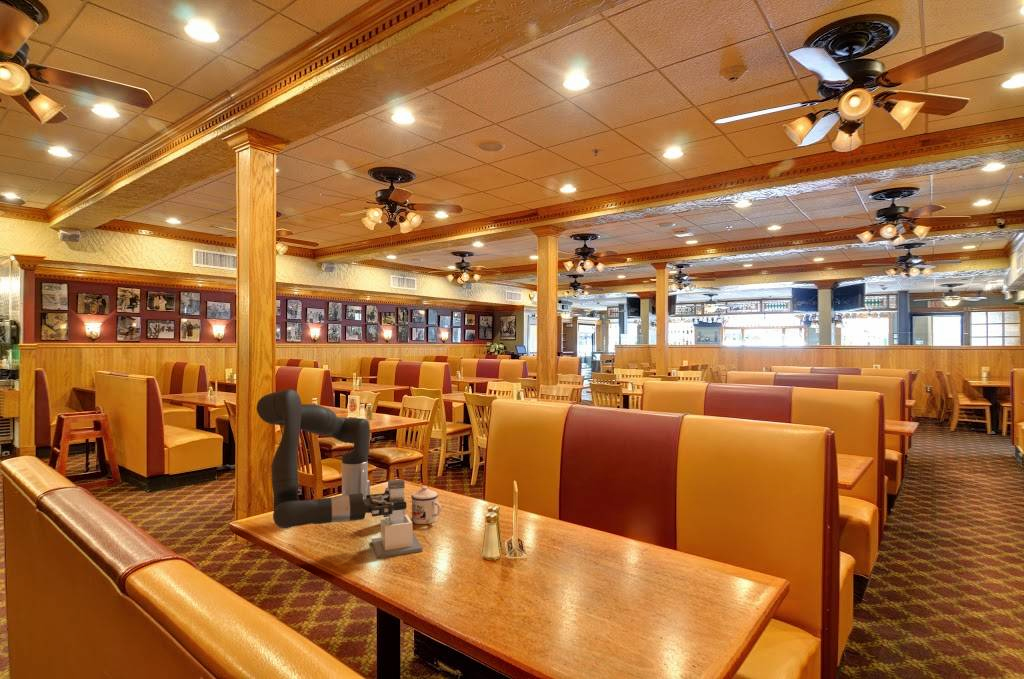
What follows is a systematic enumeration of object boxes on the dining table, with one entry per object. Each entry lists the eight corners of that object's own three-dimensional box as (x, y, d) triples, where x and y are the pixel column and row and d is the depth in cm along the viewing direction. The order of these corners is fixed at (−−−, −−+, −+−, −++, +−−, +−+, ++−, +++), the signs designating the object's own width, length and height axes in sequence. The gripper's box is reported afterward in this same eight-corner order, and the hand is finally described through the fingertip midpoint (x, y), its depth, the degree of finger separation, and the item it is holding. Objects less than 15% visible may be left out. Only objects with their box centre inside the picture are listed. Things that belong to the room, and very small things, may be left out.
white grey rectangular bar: (388, 539, 166) (387, 480, 165) (402, 537, 167) (402, 478, 167) (389, 542, 163) (389, 482, 163) (404, 540, 165) (404, 481, 164)
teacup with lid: (405, 521, 187) (405, 487, 187) (424, 514, 195) (424, 481, 194) (431, 528, 180) (431, 493, 180) (449, 520, 188) (449, 487, 188)
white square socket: (371, 541, 169) (371, 516, 169) (413, 536, 174) (413, 511, 173) (377, 558, 157) (377, 530, 157) (422, 551, 162) (422, 524, 161)
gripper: (349, 502, 153) (408, 495, 159) (345, 488, 166) (399, 483, 172) (350, 528, 153) (408, 521, 159) (345, 513, 166) (399, 506, 172)
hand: (403, 501), depth 166 cm, fingers open, 7 cm apart
